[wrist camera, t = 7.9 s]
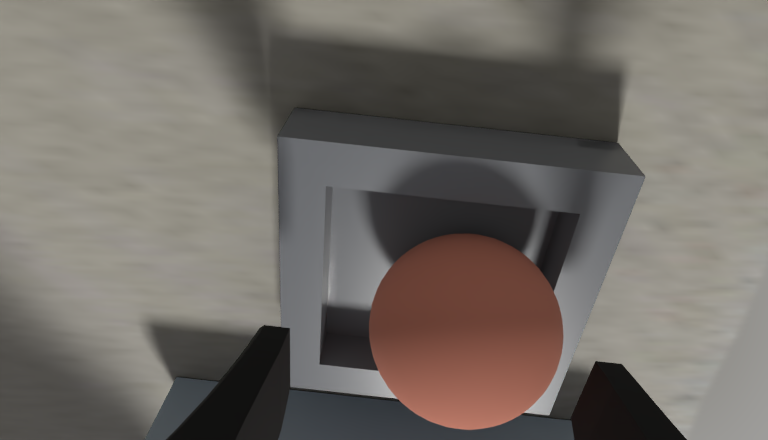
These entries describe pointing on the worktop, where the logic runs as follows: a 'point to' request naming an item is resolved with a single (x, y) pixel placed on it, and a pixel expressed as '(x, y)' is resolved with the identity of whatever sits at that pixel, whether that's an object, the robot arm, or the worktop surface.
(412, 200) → the tray
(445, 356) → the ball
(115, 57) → the worktop surface
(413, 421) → the low wall
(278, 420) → the robot arm
